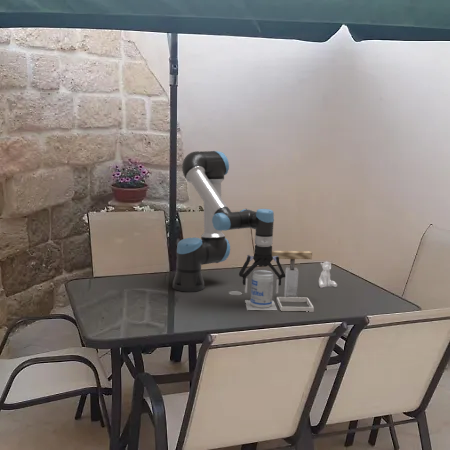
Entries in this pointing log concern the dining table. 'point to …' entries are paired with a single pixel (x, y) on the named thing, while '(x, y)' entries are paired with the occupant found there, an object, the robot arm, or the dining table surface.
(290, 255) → the T-handle
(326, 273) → the white creature statuette
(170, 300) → the dining table surface
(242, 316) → the dining table surface
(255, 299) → the supplement tub
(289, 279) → the post
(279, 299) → the holder tray
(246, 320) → the dining table surface
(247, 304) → the rubber mat
